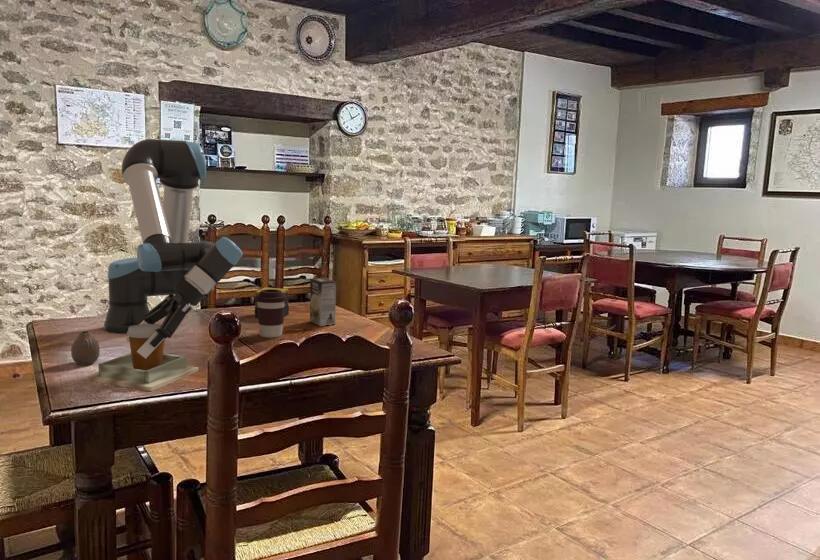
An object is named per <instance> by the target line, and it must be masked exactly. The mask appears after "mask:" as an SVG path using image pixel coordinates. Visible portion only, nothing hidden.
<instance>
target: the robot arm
mask: <svg viewBox="0 0 820 560" xmlns="http://www.w3.org/2000/svg"><path fill="white" fill-rule="evenodd" d="M121 174H122V178H123V181H124V183H125V184H126V185H128V187H129V190H130V196H131V200H132V205H133V208H134V211H135V212H134V213H135V217H136V219H137V220H136V221H137V224H138V229H139V232H140V237H141V241H142V243H141V244H138V246H137V249H136V257H129V258H122V259H117V260H115V261H112V262H110V263H109V265H108V268H107V280H108V303H109V305H108V310H107V312H106V313H107V314H106V318H105V321H104V323H103V328H104V329H103V330H104V331H105V332H107V333H111V334H120V335H121V334H127V332H128V329H129V327H130V326H133V325H141V324H157V323H158V322H159V321H161V320H162V319H164V320H163V321H162V323H161V324H160V325H161V327H160V329H159V328H158V329H156V330H155V331H156V332H155V333H154V334H153V335H152V336H151V337H150V338H149V339H148V340H147V341H146V342H145V343H144V344H143V345H142V346H141V347H140V348H139V349H138V350H137V352H138V353H139V354H140V355H142V356H143V357H144V358H147V357H148V356H149V355H150V354H151V353H152V352H153V350H154V349H155V348H156V347H157V346H158V345H159V344H160V343H161V342H162V341H163V340H164V339H165V340H166V339H167V338H168V339H171V338H172V336H173V335H174V333H175V332H176V330H177V329H178V327H179V326H180V324H181V323H182V321H183V320H184V319H185V317H186V315H187V314H188V313H189V312H190V311H191V310H192V307H196V306H198V305H199V304H200V302H202V300H203V299H205V296H204V295H208V294H209V292H210V291H214V290H215V286H216V285H218V283H219V282H221V280H222V279H223V278H224V276H226V275H227V274H228V273H229V272H230V271H231V270H232V269H233V267H234V266H236V265H237V264H238V262H239V260H241V258H242V257H243V254H244V253H243V251H242V250H241V248H240V247H239V246H238V245H237V244H236V243H235V242H234V241H232V240H231V239H230V238H228V237H225V236H222V237H221V238H220V239H218V240H217V241H215V243H214V242H213V241H212V242H211V241H210V240H209V241H208V240H200V241H197V242H188V241H189V231H190V223H191V222H190V221H191V212H192V210H191V209H192V202H193V201H192V200H193V191H194V190H195V189H197V188H198V187H199V180H200V181H203V180H204V179H206V176H207V163H206V156H205V152H204V150H203V148H202V146H201V145H200V144H199V143H198V142H195V141H187V140H174V139H173V140H171V139H155V138H147V139H146V138H145V139H143V140H140V141H138V142H136V143H134V144H133V145H132V146H131V147H130V148H129V149H128V150H127V152H126V153H125V154H124V156H123V160H122V162H121ZM158 179H159V183H160V184H161V186H163V187H164V188H163V201H162V198H161V194H160V191H159V187H158V183H157V180H158ZM157 296H166V297H165V298H164V299H163V300H162V301H161V302H159V303H158V304H156V305H155V306H154V307H152V308H151V309H149V305H148V297H157ZM189 304H190V305H191V306H192V307H191V306H190V305H189ZM157 332H158V333H157ZM125 340H126V341H128V342H129V343H130V341H129V336H128V335H127V337H126V338H125Z"/></svg>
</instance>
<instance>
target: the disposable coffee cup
mask: <svg viewBox="0 0 820 560" xmlns="http://www.w3.org/2000/svg"><path fill="white" fill-rule="evenodd" d="M161 325H162V324H159V323H158V324H157V323H154V324H141V325H133V326H130V327H129V329H128V332H127V333H126V334H127V337H128V336H129V341H130V342H129V341H128V342H129V348H130V353H131V355H132V362H133V369H140V370H146V371H147V370H149V369H152V368H154V367H157V366H160V365H162V357H163V353H164V351H165V350H164V349H165V340H166V339H164V340H163V341H162V342H161V343H160V344H159V345H158V346H157V347H156V348H155V349H154V350H153V352H152V353H151V354H150V355H149V356H148V357H147V358H144V357H143V356H142V355H140V354H139V353H138V352H137V350H138V349H139V348H140V347H141V346H142V345H143V344H144V343H145V342H146V341H147V340H148V339H149V338H150V337H151V336H152V335H153V334H154V333H155V332H156V331H155V330H156V329H158V328H159V329H160V327H161ZM157 333H158V332H157Z"/></svg>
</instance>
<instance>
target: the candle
mask: <svg viewBox="0 0 820 560" xmlns="http://www.w3.org/2000/svg"><path fill="white" fill-rule="evenodd" d="M266 289H276V290H281V291H282V293H283V294H284V295H286V301H285V302H284V306H285V311H284V318H285V317H286V316H289V313H290V312H289V310H290V306H289V298H290V297H289V291H290V290H289V289H288V288H278V287H263V288H261V289H259V290H256V291H255V294H254V295H255V296H256V295H258V294H260V291H261V290H266ZM255 296H254V297H255ZM257 306H258V303H257V301H256V300H255V304H254V317H255V318H256V319H258V313H257Z"/></svg>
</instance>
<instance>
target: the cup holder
mask: <svg viewBox="0 0 820 560" xmlns="http://www.w3.org/2000/svg"><path fill="white" fill-rule="evenodd" d="M187 359H188V358H187V356H185V355H179V354H174V353H172V354H171V353H164V352H163V357H162V365H160V366H157V367H154V368H152V369H149V370H147V371H146V370H140V369H133V362H132V355H131V352H130V353H127V354H124V355H121V356H118V357H115V358H112V359H108V360H106V361H103V362H100V363H98V371H97V372H94V373H91V374H88V375H86V376H85V381H87V382H95V383H99V384H106V385H113V386H117V387H125V388H131V389H135V390H142V391H147V392H148V391H149V392H154V391H155V390H158V389H160V388H162V387H165V386H167V385H169V384H171V383H174V382H176V381H178V380H180V379H183V378H186V377H188V376H190V375H192V374H195V373H197V372H199V371H200V370H199V367H197V366H192V365H187V362H188V361H187Z"/></svg>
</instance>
